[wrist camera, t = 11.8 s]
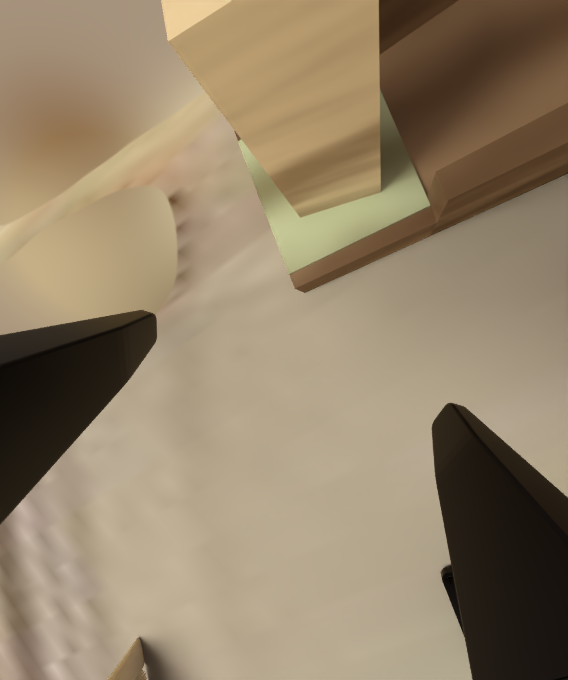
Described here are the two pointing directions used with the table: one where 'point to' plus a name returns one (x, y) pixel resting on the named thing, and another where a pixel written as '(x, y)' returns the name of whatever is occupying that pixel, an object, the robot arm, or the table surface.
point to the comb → (130, 664)
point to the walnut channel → (441, 130)
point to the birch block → (292, 88)
